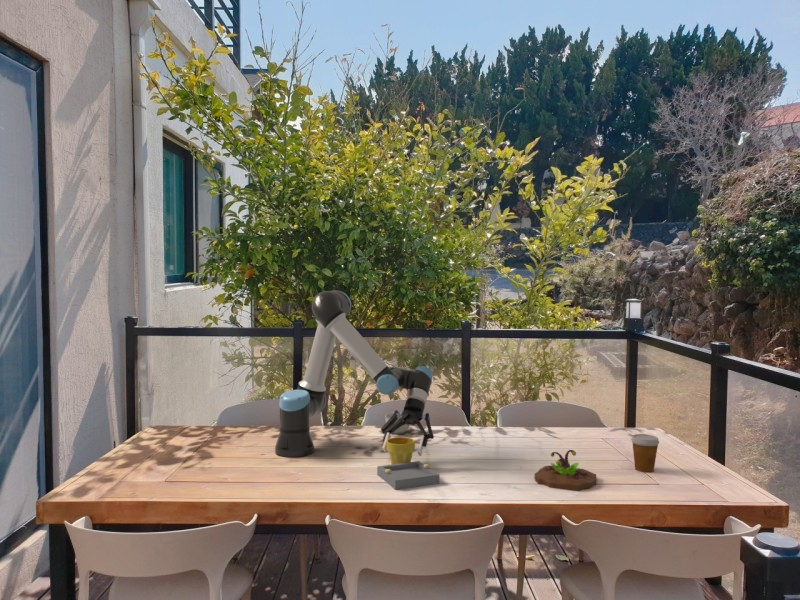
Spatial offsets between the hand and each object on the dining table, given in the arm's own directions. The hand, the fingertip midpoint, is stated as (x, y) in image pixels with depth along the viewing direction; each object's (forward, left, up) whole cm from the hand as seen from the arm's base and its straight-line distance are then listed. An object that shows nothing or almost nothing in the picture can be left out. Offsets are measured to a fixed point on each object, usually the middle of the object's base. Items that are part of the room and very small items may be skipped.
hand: (401, 451), depth 221 cm
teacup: (+19, +48, -6) cm, 52 cm away
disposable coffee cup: (+81, -35, -6) cm, 88 cm away
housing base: (-3, -12, -6) cm, 14 cm away
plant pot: (0, +1, -6) cm, 6 cm away
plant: (+47, -34, -6) cm, 58 cm away
